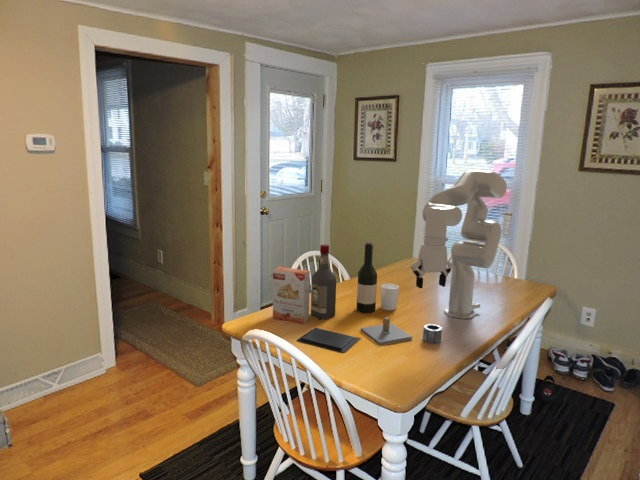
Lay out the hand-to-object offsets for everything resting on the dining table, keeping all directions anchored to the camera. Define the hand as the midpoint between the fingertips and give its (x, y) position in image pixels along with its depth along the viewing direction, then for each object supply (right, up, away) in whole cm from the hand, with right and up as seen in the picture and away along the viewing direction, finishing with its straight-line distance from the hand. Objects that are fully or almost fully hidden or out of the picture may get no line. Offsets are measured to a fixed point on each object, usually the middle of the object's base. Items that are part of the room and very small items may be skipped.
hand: (430, 286), depth 175 cm
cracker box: (-53, -15, +19) cm, 58 cm away
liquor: (-40, -15, +24) cm, 49 cm away
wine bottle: (-21, -13, +31) cm, 40 cm away
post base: (-16, -19, +5) cm, 25 cm away
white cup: (-10, -13, +35) cm, 38 cm away
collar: (+1, -20, +2) cm, 20 cm away
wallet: (-38, -21, 0) cm, 43 cm away
